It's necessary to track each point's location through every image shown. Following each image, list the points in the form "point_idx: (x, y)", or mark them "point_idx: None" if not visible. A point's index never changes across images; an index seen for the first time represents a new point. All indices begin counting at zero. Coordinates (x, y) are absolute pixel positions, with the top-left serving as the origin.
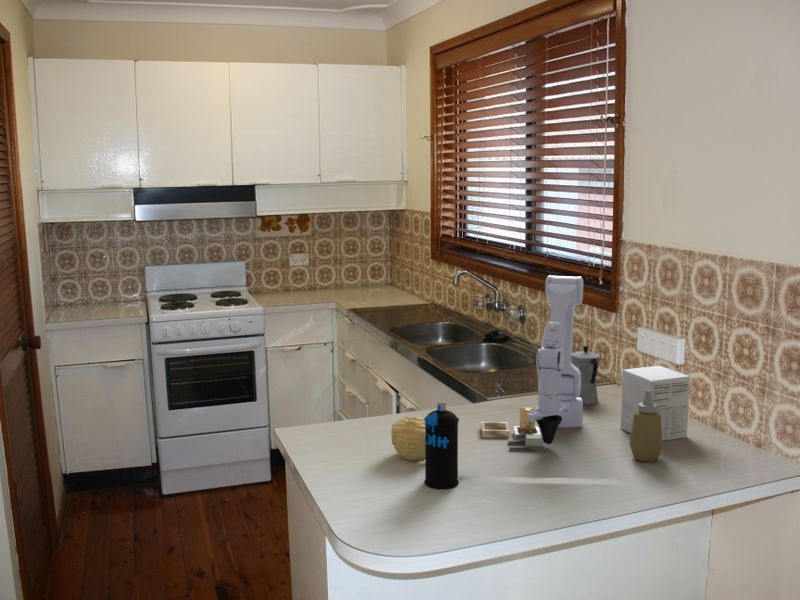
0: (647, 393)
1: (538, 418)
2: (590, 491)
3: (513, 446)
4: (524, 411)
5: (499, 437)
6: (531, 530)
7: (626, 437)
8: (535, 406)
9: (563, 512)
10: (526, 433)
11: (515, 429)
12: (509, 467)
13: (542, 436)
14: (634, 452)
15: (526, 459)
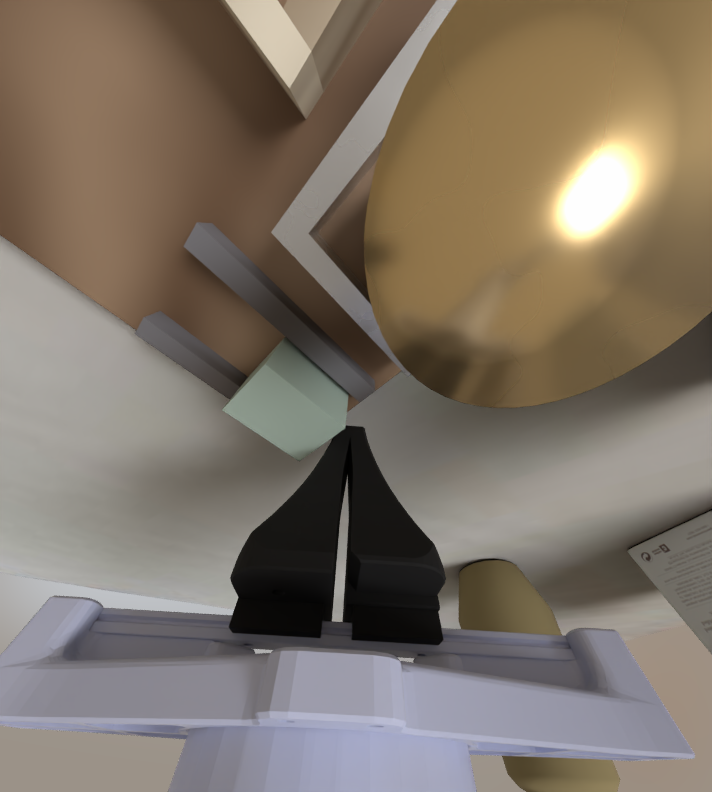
0: None
1: (172, 637)
2: (229, 570)
3: (165, 340)
4: (370, 295)
5: (226, 11)
6: (25, 574)
7: (672, 505)
8: (261, 717)
9: (120, 575)
10: (356, 291)
11: (375, 111)
12: (97, 407)
13: (330, 444)
14: (464, 590)
15: (211, 404)
